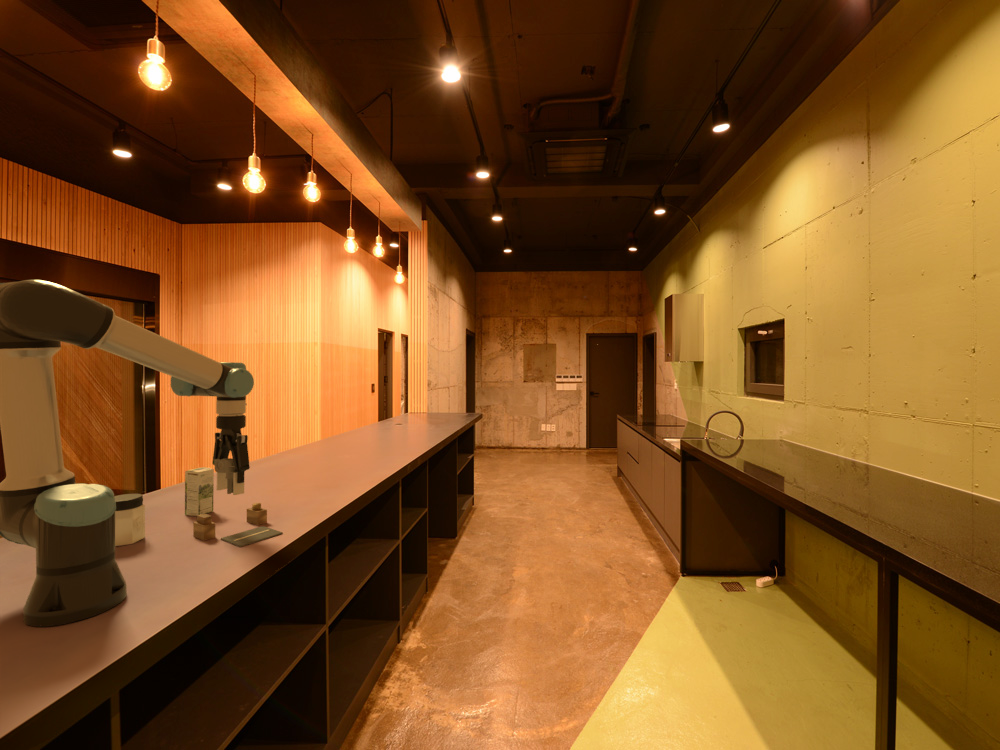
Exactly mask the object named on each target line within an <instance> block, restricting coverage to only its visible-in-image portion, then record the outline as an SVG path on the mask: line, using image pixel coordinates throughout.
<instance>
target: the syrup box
mask: <svg viewBox="0 0 1000 750" xmlns="http://www.w3.org/2000/svg"><path fill="white" fill-rule="evenodd" d="M214 471H215V468H214V469H213V468H211V467H204V466H203V467H198V468H197V467H196V468H193V469H188V470H185V471H184V515H185V516H191V517H193V516H194V517H197V515H201V514H207V515H208V514H209V513H212V512H214V488H215V487H214V485H215V484H214V482H215V481H214V480H215V479H214V478H215V476H214V475H215V474H214V473H215V472H214Z"/></svg>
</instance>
